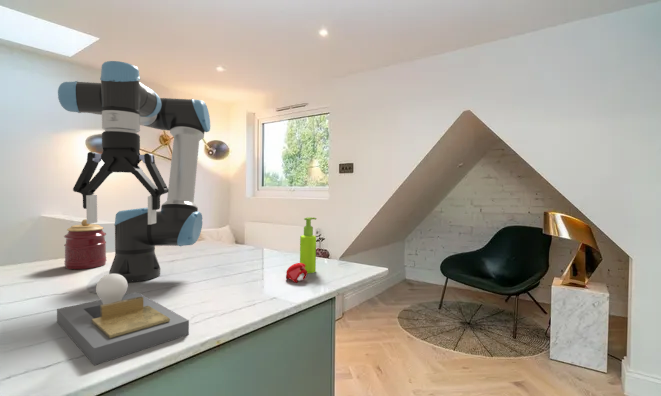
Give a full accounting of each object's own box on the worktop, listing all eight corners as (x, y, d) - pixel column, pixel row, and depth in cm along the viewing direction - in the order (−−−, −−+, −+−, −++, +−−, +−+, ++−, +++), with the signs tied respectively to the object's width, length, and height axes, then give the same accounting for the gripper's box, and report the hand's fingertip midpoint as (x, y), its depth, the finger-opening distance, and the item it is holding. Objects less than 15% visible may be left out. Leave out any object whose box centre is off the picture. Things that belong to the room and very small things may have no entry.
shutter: (91, 322, 70) (91, 307, 70) (148, 308, 79) (148, 294, 78) (109, 338, 63) (109, 321, 63) (169, 321, 71) (169, 306, 71)
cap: (313, 270, 116) (302, 259, 119) (305, 268, 111) (294, 256, 114) (298, 288, 116) (288, 276, 119) (290, 287, 111) (279, 275, 114)
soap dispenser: (320, 270, 130) (321, 217, 129) (309, 273, 124) (310, 218, 123) (307, 267, 133) (308, 216, 132) (296, 271, 127) (297, 217, 126)
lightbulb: (105, 316, 81) (105, 270, 81) (132, 316, 82) (132, 270, 81) (89, 327, 75) (89, 277, 75) (119, 326, 76) (119, 277, 75)
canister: (78, 262, 136) (78, 217, 135) (113, 261, 137) (112, 217, 136) (55, 270, 123) (55, 221, 122) (94, 269, 124) (94, 221, 123)
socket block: (57, 322, 77) (56, 308, 77) (138, 303, 90) (138, 292, 90) (94, 365, 60) (94, 348, 59) (188, 334, 72) (188, 320, 72)
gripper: (52, 128, 75) (54, 224, 76) (170, 131, 76) (170, 226, 77) (75, 132, 82) (77, 220, 83) (182, 135, 84) (182, 222, 85)
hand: (122, 223), depth 80 cm, fingers open, 13 cm apart
